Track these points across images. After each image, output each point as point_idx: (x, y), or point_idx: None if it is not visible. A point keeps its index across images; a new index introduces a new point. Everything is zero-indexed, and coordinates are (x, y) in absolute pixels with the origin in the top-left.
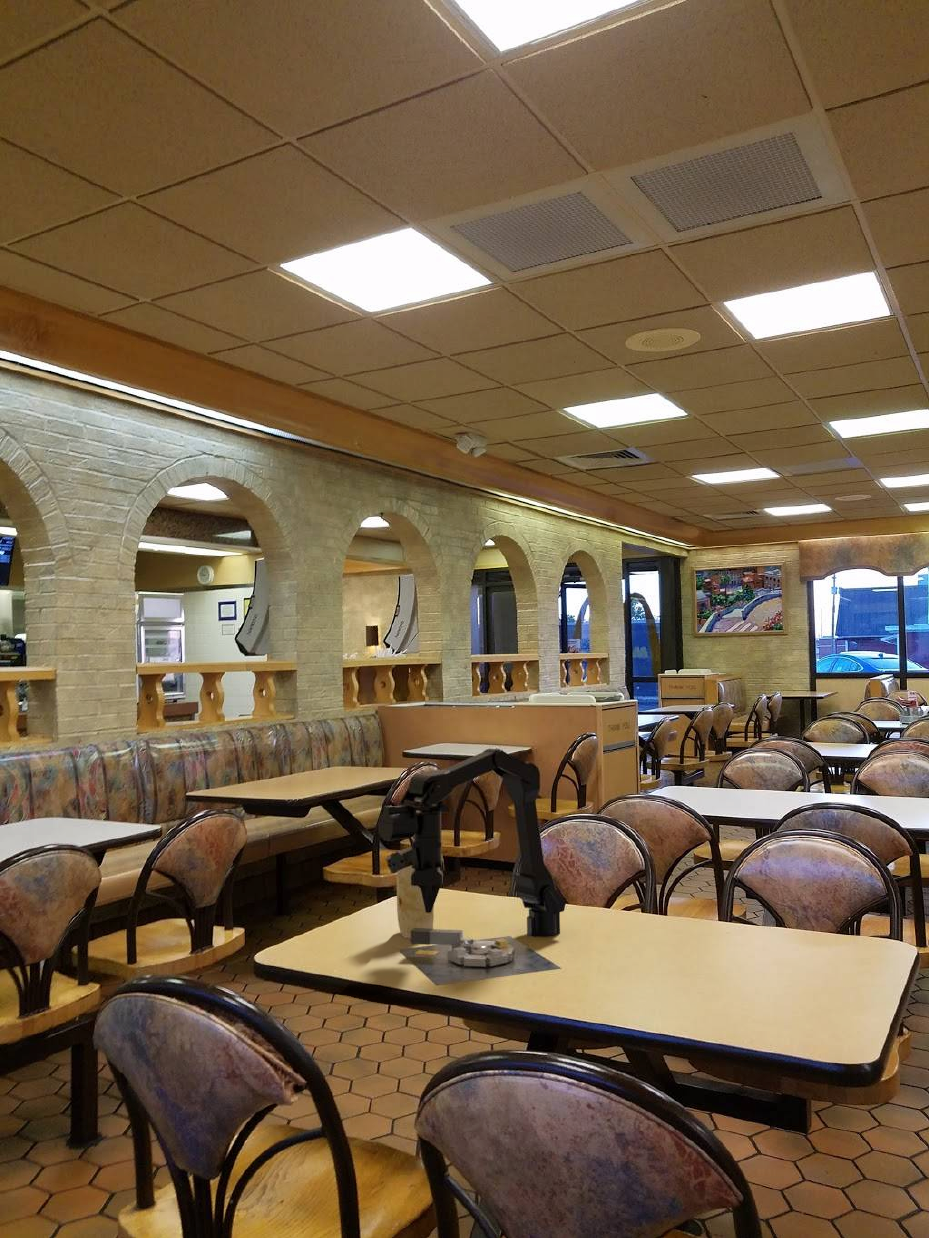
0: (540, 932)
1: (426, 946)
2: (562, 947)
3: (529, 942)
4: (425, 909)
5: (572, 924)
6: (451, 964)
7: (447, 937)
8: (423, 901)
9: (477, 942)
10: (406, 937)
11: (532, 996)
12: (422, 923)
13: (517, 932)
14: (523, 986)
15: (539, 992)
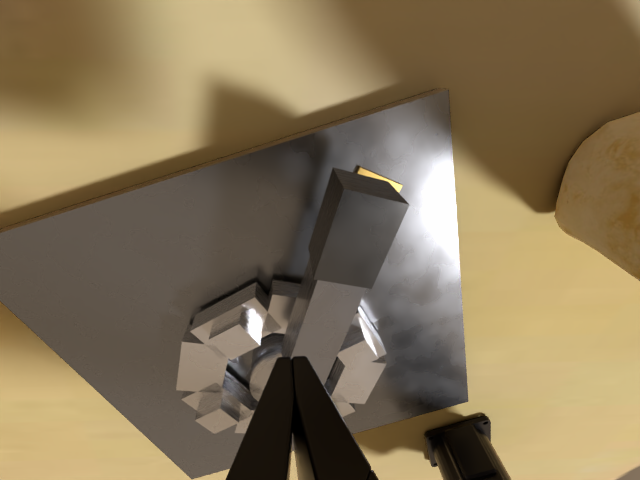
0: (443, 453)
1: (450, 209)
2: (377, 461)
3: (433, 419)
4: (270, 374)
5: (524, 466)
6: (217, 288)
7: (294, 328)
8: (243, 437)
9: (363, 366)
10: (605, 131)
11: (7, 436)
12: (607, 219)
13: (520, 400)
14: (83, 421)
15: (44, 444)
